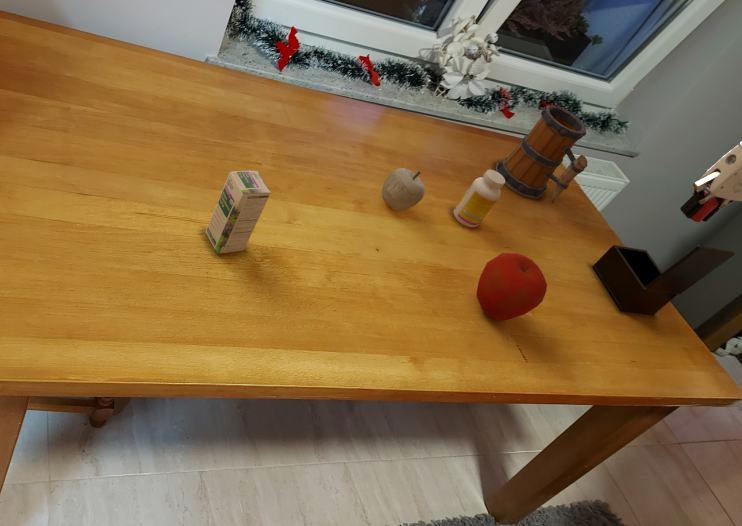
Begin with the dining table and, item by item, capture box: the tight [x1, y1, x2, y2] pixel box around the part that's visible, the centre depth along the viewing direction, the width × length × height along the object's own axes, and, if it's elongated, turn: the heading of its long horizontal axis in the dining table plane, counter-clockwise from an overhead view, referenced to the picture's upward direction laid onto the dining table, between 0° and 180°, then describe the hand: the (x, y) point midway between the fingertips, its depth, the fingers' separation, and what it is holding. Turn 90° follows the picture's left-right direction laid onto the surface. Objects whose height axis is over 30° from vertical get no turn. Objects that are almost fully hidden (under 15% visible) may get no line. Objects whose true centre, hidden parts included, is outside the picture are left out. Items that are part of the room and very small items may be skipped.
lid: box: [645, 244, 736, 295], centre depth 145 cm, size 15×11×1 cm
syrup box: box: [205, 170, 272, 255], centre depth 118 cm, size 6×6×14 cm
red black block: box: [690, 192, 718, 223], centre depth 143 cm, size 4×4×5 cm
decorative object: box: [381, 167, 426, 211], centre depth 147 cm, size 9×9×10 cm
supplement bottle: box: [453, 169, 505, 228], centre depth 153 cm, size 7×7×13 cm
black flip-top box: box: [591, 244, 679, 316], centre depth 158 cm, size 14×11×8 cm
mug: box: [494, 104, 588, 204], centre depth 172 cm, size 19×14×20 cm
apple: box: [476, 252, 548, 322], centre depth 132 cm, size 12×12×14 cm
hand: (693, 214), depth 144 cm, fingers closed on red black block, 4 cm apart
